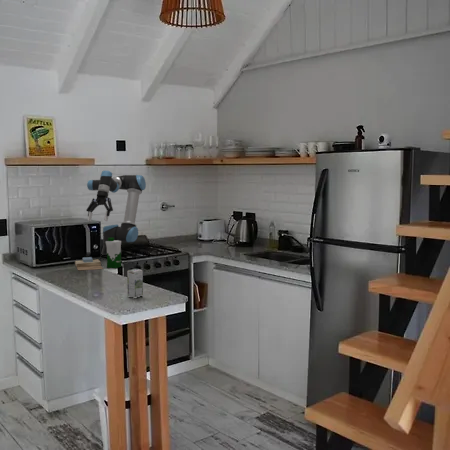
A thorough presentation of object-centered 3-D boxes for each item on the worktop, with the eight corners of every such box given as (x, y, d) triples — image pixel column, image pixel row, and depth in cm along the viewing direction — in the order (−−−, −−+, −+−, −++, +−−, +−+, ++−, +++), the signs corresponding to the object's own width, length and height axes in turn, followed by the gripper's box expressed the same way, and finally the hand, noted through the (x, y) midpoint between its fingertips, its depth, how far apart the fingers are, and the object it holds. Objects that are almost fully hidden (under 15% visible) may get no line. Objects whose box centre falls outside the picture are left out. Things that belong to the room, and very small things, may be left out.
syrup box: (135, 295, 288) (135, 268, 286) (143, 297, 284) (142, 269, 283) (127, 297, 284) (126, 270, 282) (135, 299, 280) (134, 271, 278)
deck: (75, 265, 377) (75, 260, 377) (98, 263, 383) (98, 259, 383) (76, 268, 366) (76, 263, 366) (100, 266, 372) (100, 262, 371)
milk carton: (112, 265, 374) (112, 236, 372) (123, 266, 370) (122, 237, 368) (104, 267, 366) (103, 238, 364) (115, 268, 362) (114, 239, 360)
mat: (76, 268, 366) (76, 267, 366) (100, 266, 372) (100, 265, 372) (78, 270, 357) (78, 270, 357) (102, 268, 362) (102, 268, 362)
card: (82, 260, 378) (82, 257, 378) (91, 259, 380) (91, 257, 380) (83, 262, 370) (83, 259, 370) (92, 261, 372) (92, 259, 372)
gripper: (85, 190, 378) (79, 219, 371) (115, 189, 368) (109, 218, 361) (91, 195, 384) (85, 223, 377) (121, 193, 374) (115, 222, 367)
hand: (97, 220), depth 369 cm, fingers open, 13 cm apart
